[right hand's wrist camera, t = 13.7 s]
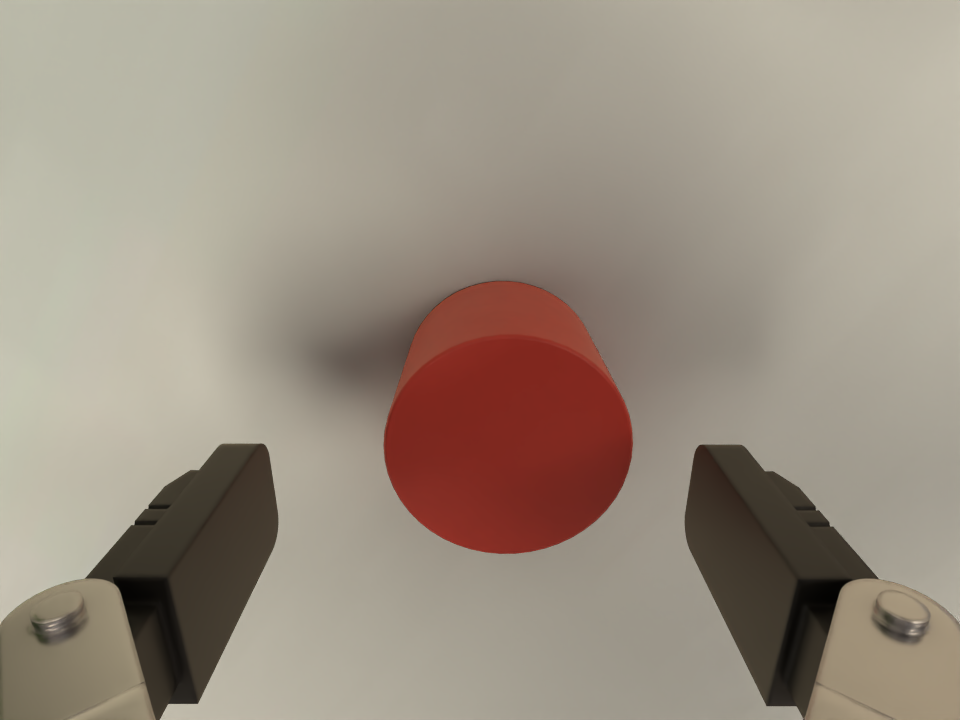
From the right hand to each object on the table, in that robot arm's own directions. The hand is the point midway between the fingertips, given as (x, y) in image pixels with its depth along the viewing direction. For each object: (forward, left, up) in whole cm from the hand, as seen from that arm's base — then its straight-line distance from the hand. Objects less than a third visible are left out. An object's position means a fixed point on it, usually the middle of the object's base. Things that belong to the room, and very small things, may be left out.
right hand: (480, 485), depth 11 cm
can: (0, 0, -5) cm, 5 cm away
